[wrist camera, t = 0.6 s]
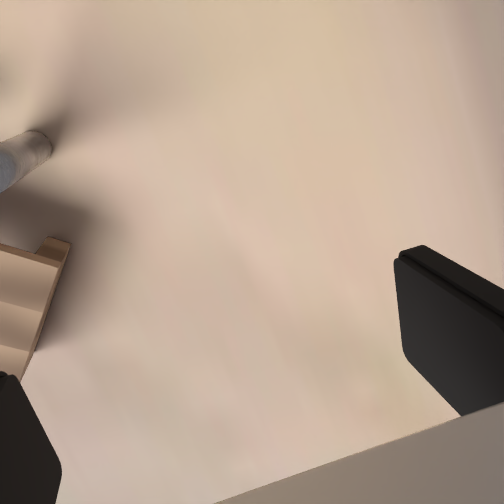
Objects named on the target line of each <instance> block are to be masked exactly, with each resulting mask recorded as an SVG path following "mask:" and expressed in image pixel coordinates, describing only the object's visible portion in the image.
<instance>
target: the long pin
mask: <svg viewBox="0 0 504 504" xmlns="http://www.w3.org/2000/svg"><path fill="white" fill-rule="evenodd" d="M51 152H52V147H51V143H50V141H49V140H48V138H47V137H46V136H45V135H43V134H42V133H40V132H36V131H28V132H25V133H22V134H20V135H17V136H15V137H12V138H10V139H7V140H5V141H2V142H0V193H2V192H3V191H4V190H6V189H7V188H9V187H10V186H11V185H13V184H14V183H16V182H17V181H18V180H20V179H21V178H23V177H24V176H25V175H27V174H28V173H30V172H31V171H32V170H34V169H35V168H37V167H38V166H39V165H41V164H42V163H44V162H45V161H46V160H48V158H49V157H50V155H51Z"/></svg>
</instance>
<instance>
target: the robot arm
mask: <svg viewBox="0 0 504 504" xmlns="http://www.w3.org/2000/svg"><path fill="white" fill-rule="evenodd" d="M394 274H395V283H396V292H397V302H398V311H399V320H400V330H401V339H402V347H403V352H404V354H405V357H406V358H407V360H408V361H409V362H410V363H411V365H412V366H413V367H414V368H415V369H416V370H417V371H418V372H419V373H420V374H421V375H422V376H423V377H424V378H425V379H426V380H427V381H428V382H429V383H430V384H431V385H432V386H433V387H434V388H435V390H436V391H437V392H438V393H439V394H440V395H441V396H442V397H443V398H444V399H445V400H446V401H447V402H448V403H449V404H450V405H451V406H452V407H453V408H454V409H455V410H456V411H457V412H458V413H459V415H460V416H461V417H458V418H456V419H453V420H450V421H447V422H444V423H441V424H438V425H435V426H433V427H430V428H427V429H424V430H421V431H418V432H415V433H412V434H410V435H407V436H404V437H401V438H398V439H395V440H392V441H389V442H387V443H384V444H381V445H378V446H375V447H372V448H370V449H367V450H364V451H361V452H358V453H355V454H353V455H350V456H347V457H344V458H341V459H338V460H336V461H333V462H330V463H327V464H324V465H322V466H319V467H316V468H313V469H310V470H307V471H305V472H302V473H299V474H296V475H293V476H290V477H288V478H285V479H282V480H279V481H276V482H273V483H271V484H268V485H265V486H262V487H259V488H256V489H254V490H251V491H248V492H245V493H242V494H240V495H237V496H234V497H231V498H228V499H225V500H223V501H220V502H217V503H214V504H504V289H502V288H500V287H499V286H497V285H495V284H493V283H491V282H490V281H488V280H486V279H484V278H482V277H481V276H479V275H477V274H475V273H473V272H472V271H470V270H468V269H466V268H464V267H463V266H461V265H459V264H457V263H455V262H454V261H452V260H450V259H448V258H446V257H445V256H443V255H441V254H439V253H437V252H436V251H434V250H432V249H430V248H428V247H427V246H425V245H420V246H417V247H413V248H410V249H407V250H403V251H401V252H400V253H399V257H398V258H396V259H395V260H394ZM61 476H62V469H61V463H60V461H59V458H58V456H57V454H56V452H55V450H54V449H53V447H52V445H51V443H50V441H49V439H48V437H47V435H46V433H45V431H44V429H43V427H42V425H41V423H40V421H39V419H38V417H37V415H36V413H35V411H34V409H33V407H32V406H31V404H30V402H29V400H28V398H27V396H26V394H25V392H24V390H23V388H22V386H21V384H20V382H19V380H18V378H17V377H16V376H15V375H13V374H11V375H8V374H7V373H5V372H4V371H0V504H55V503H56V499H57V494H58V490H59V486H60V481H61Z"/></svg>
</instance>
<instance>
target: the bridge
mask: <svg viewBox="0 0 504 504" xmlns="http://www.w3.org/2000/svg"><path fill="white" fill-rule="evenodd" d="M70 246H71V244H70V243H67V242H63V241H60V240H57V239H54V238H51V237H47V238H46V240H45V241H44V242H43V244H42V245H41V247H40V248H39V249H38V251H37V252H36V254H33V253H30V252H27V251H23V250H20V249H17V248H14V247H10V246H7V245H4V244H1V243H0V371H4V372H5V373H7V374H8V375H11V374H13V375H15V376H16V377H17V378H18V380H19V382H21V380H22V377H23V375H24V373H25V371H26V369H27V367H28V364H29V362H30V360H31V358H32V356H33V353H34V350H35V347H36V344H37V342H38V339H39V336H40V333H41V330H42V327H43V324H44V321H45V318H46V315H47V313H48V310H49V307H50V304H51V301H52V298H53V295H54V292H55V289H56V286H57V284H58V281H59V278H60V275H61V272H62V269H63V266H64V263H65V260H66V257H67V255H68V252H69V249H70Z"/></svg>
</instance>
